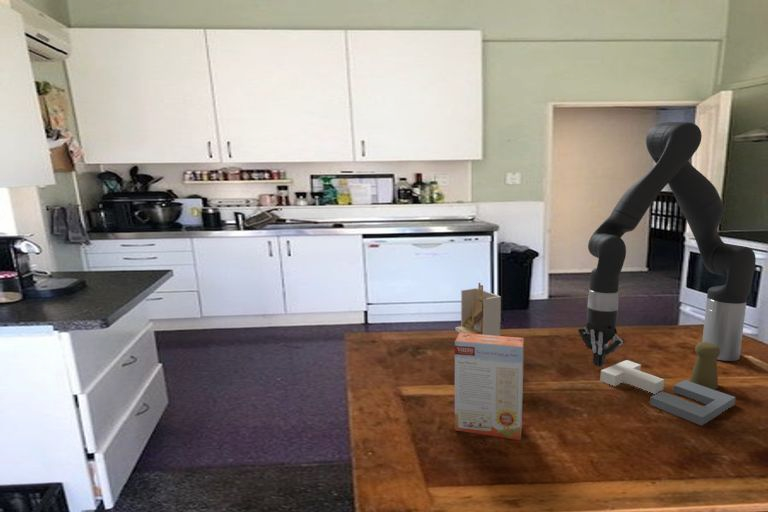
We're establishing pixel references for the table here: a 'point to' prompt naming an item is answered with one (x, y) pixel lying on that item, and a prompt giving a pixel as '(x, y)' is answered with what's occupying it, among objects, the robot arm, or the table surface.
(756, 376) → the table surface
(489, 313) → the beige open box
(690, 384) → the t bay
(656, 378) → the t block
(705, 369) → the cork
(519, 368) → the cracker box
